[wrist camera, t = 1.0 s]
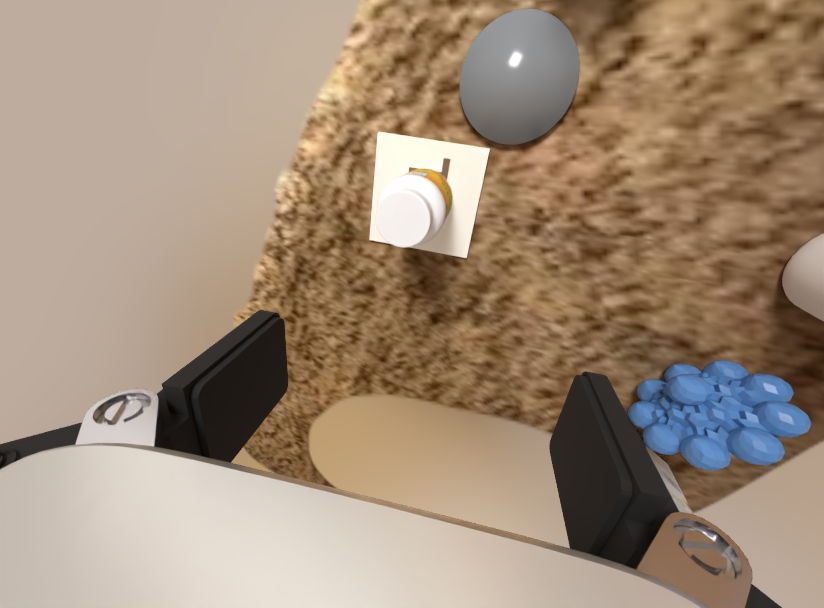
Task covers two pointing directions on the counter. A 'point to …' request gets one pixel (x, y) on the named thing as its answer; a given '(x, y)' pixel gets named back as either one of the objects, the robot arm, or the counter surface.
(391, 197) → the supplement bottle
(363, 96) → the counter surface
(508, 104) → the gray round coaster
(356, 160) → the counter surface
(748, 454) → the grapes
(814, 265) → the milk bottle
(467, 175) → the card
